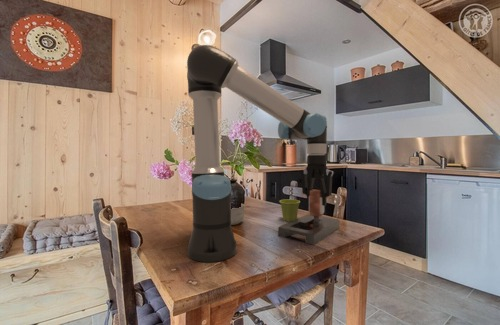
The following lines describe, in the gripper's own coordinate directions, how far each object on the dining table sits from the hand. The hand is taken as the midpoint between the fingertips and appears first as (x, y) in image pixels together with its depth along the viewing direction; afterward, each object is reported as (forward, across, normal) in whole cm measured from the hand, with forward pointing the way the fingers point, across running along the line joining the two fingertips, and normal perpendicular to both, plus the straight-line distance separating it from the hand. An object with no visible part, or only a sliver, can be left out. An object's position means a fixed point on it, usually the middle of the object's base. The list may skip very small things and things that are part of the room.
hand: (316, 212), depth 98 cm
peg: (+6, 0, 0) cm, 6 cm away
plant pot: (+7, +15, -5) cm, 17 cm away
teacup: (+7, +33, +14) cm, 37 cm away
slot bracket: (+7, 0, +5) cm, 8 cm away
